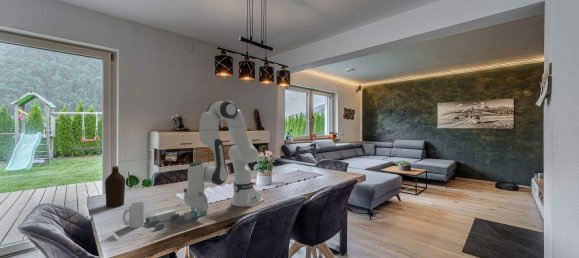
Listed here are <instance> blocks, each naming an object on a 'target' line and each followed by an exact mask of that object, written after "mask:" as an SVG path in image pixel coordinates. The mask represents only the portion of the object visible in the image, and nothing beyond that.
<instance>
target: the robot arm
mask: <svg viewBox="0 0 579 258" xmlns="http://www.w3.org/2000/svg"><path fill="white" fill-rule="evenodd" d="M224 119H225V121H226V122H227V127H228V131H229V136H230V137H229V138H230V139H231V141H232V142H233V143H234V145H232V146H230V147H229V149H228V154H227V155H228V157H229V158H230V160H231V162H232V166H233V171H234V174H233V176H234V177H233V180H234V182H233V194H232V195H233V196H232V201H231V205H232V206H234V207H254V206H255V205H257V204H259V203H262V202H264V201H265V199H264V198H263V197H261V196H262V195H261V192H260V191H259V190H258V189H256V188H255V187H254V186H256V184H257V183H256V182H255V181H252V170H251V168H250V167H249V164H250V163H251V164H253V163H255V162H256V161H257V160H258V159H259V156H260V154H259V151H258V149H257V148H256V147H255V146H254V145H253V143H252V140H250V137H249V134H248V130H247V126H246V121H245V118H244V116H243V113H242V111H241V110H240V109H238V108H237V105H236V104H235V103H234V102H232V101H230V100H222V101H219V100H218V101H216V102H212V103H211V104H209V105H208V107H207V109H206V111H204V112H203V113H202V114H201V116H200V119H199V131H198V134H199V135H198V136H199V140H200V142H201V143H202V144H203V145H204V146H206V147H207V148H209V149H210V150H211V151H212V152H213V157H214V158H213V159H214V165H213V166H212V165H208V164H205V163H204V162H203V161H193V162H191V163H189V164H188V165H189V166H188V168H187V180H188V181H187V183H188V184H187V187H184V188H183V200H184V204H185V205H186V206H189V207H190V209H191V210H190V211H194V210H197V213H196V216H197V217H196V218H198V216H199V217H201V216H200V212H201V211H202V212H203V211H206V210H207V211H208V209H209V200H208V197H207V196H206V194H205V183H208V184H214V185H217V186H221V185H223V184H224V183H225V182H226V181H227V179H228V169H227V166H226V157H225V150H224V149H225V148H224V144H223V141H222V140H221V138H220V137H221V136H220V134H219V133H220V132H219V131H220V130H219V129H220V128H219V127H220V125H219V124H220V122H221V120H224Z"/></svg>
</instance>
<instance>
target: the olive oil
mask: <svg viewBox="0 0 579 258" xmlns="http://www.w3.org/2000/svg"><path fill="white" fill-rule="evenodd" d="M111 169H112V170H111V173H110V174H109V175H108V176H107V177H106V178H105V180H104V181H105V182H104V187H105V188H104V191H105V192H104V193H105V207H106V208H107V209H108V208H110V209H111V208H119V207H121V206H124V205H125V190H126V178H125V176H124V175H122V174H121V173H120V172H119V166H118V165H114V166H112V167H111Z"/></svg>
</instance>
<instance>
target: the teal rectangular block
mask: <svg viewBox="0 0 579 258" xmlns="http://www.w3.org/2000/svg"><path fill="white" fill-rule="evenodd" d="M196 213H197V209H195V210H194V211H191V210H190V211H186V212H183V217H185V221H188V220H191V219H195V218H198V217H202V216H206V215H207V214H208V209H207V210H206V211H203V212H202V211H201V212H200V216H198V217H197V216H196Z"/></svg>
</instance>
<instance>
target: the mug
mask: <svg viewBox="0 0 579 258" xmlns="http://www.w3.org/2000/svg"><path fill="white" fill-rule="evenodd" d="M127 213H128V221H127V220H126V215H127ZM122 221H123V224H124V225H125V226H129V227H128V228H131V229H136V228H140V227H143V226H144V225H145V201H135V202H132V203H129V204H128V208H125V209H124V211H123V213H122Z"/></svg>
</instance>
